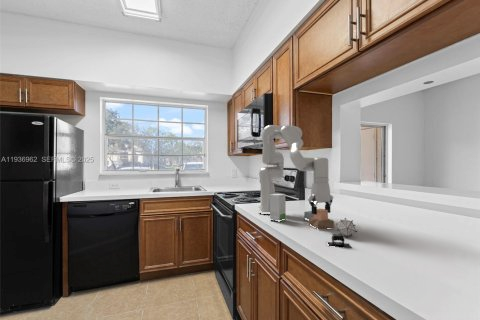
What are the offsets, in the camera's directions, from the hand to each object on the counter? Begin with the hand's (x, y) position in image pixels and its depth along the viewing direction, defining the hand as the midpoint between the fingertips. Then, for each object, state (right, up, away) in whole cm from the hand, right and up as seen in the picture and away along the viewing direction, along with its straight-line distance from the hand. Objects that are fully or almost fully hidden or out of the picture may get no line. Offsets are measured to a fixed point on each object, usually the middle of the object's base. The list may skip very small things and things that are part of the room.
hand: (321, 213), depth 121 cm
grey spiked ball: (+6, -7, -16) cm, 19 cm away
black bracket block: (-3, -7, -28) cm, 29 cm away
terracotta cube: (0, -3, 0) cm, 3 cm away
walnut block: (0, -8, 0) cm, 8 cm away
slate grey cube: (-1, -8, +15) cm, 17 cm away
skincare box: (-21, -8, +14) cm, 26 cm away
